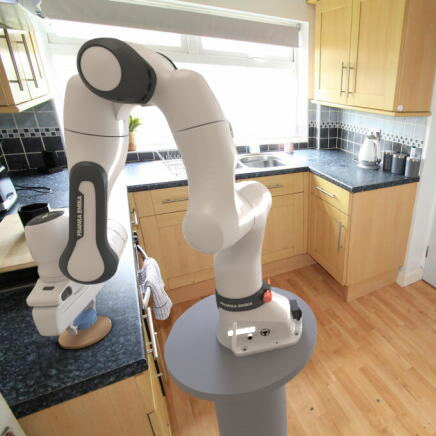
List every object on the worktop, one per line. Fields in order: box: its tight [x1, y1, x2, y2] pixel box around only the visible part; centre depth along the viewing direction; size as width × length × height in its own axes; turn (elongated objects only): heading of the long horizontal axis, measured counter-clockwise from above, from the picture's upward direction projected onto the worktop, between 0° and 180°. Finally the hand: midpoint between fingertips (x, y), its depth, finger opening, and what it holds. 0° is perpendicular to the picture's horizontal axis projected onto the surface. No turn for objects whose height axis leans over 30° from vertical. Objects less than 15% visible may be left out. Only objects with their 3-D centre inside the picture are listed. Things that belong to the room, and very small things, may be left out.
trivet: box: [57, 315, 113, 350], centre depth 82 cm, size 11×11×1 cm
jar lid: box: [73, 308, 98, 331], centre depth 80 cm, size 6×6×2 cm
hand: (83, 323), depth 81 cm, fingers closed on jar lid, 6 cm apart
